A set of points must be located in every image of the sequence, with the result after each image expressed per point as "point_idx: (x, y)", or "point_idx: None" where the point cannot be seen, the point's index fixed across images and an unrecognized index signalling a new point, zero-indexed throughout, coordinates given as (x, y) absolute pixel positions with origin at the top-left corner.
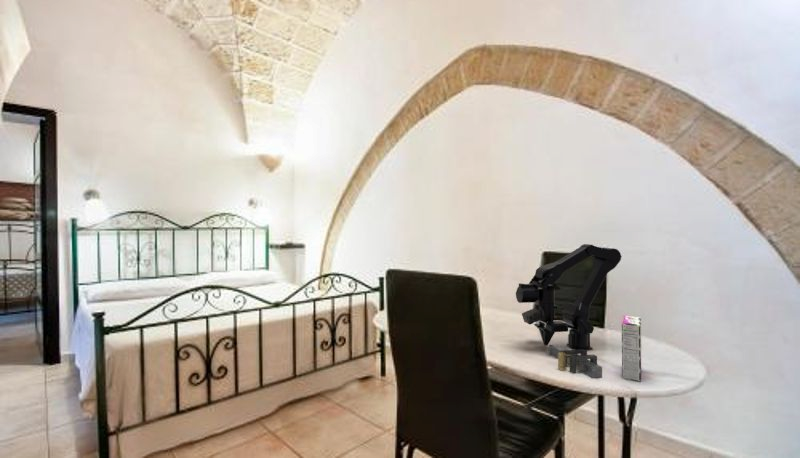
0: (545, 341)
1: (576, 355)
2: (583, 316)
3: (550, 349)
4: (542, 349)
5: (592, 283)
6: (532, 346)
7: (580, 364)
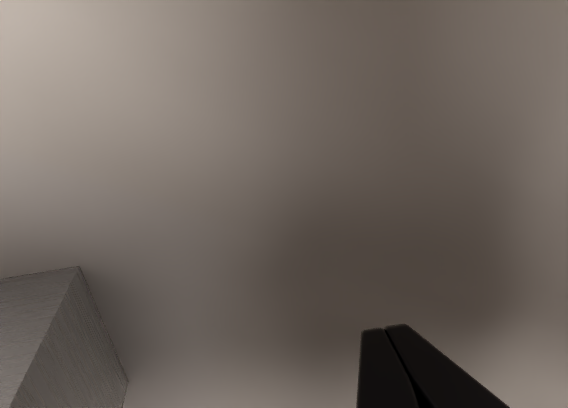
0: (358, 403)
1: None
2: None
3: (4, 341)
4: (345, 241)
5: None
6: (550, 128)
7: None
